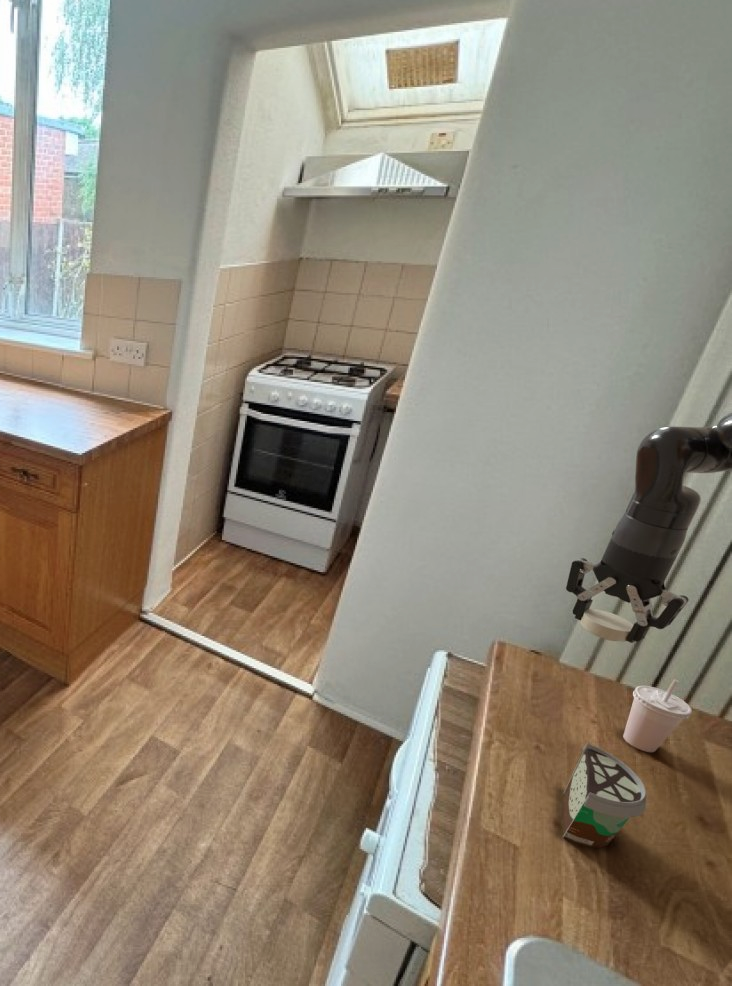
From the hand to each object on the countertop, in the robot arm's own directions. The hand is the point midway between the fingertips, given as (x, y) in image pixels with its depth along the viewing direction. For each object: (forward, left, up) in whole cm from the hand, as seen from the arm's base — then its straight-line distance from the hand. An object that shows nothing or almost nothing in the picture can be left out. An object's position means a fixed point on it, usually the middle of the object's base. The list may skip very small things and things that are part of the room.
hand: (604, 628), depth 103 cm
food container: (-14, +29, -16) cm, 36 cm away
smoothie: (-10, +2, -16) cm, 19 cm away
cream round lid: (0, 0, -1) cm, 1 cm away
